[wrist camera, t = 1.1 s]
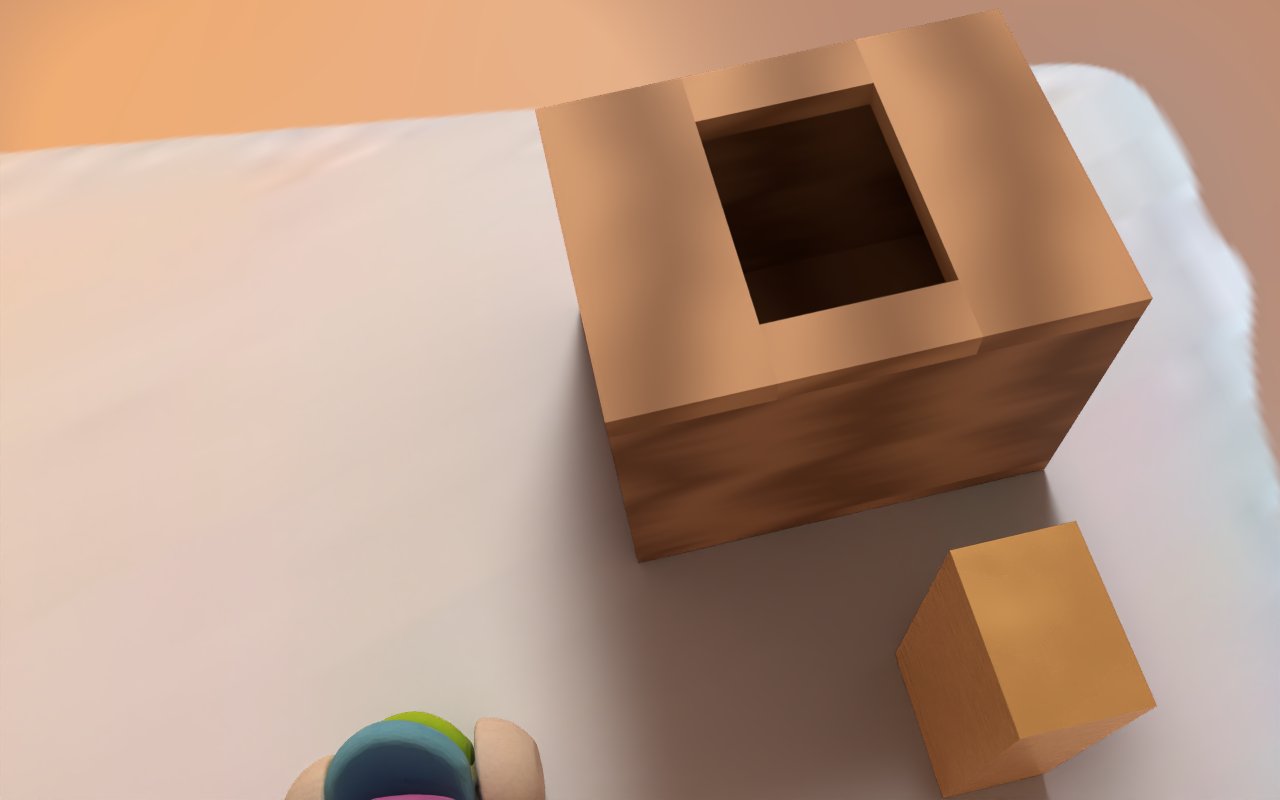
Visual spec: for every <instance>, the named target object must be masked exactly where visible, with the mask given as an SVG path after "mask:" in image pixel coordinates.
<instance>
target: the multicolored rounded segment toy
mask: <svg viewBox="0 0 1280 800" xmlns="http://www.w3.org/2000/svg"><path fill="white" fill-rule="evenodd" d="M474 747H475V751H474V748H473V745H472V743H471V741H470V740H469V739H468V738H467V737H465V736H464V735H463V734H462V733H461V732H460V731H459V730H458V729H457V728H456V727H455V726H453V725H452V724H451V723H449V722H448V721H446V720H444V719H442V718H440V717H437V716H434V715H432V714H428V713H424V712H416V711H414V712H405V713H401V714H397V715H394V716H391V717H388V718H386V719H385V720H383V721H381V722H377V723H374V724H371V725H369V726H367V727H365V728H363V729H362V730H360V731H359V732H357V733H356V734H354V735H353V736H352V737H351V738H350V739H348V740H347V741H346V742H345V743H344V744H343V745H342V747H341V748H340V749H339V750H338V752H337V753H336V755H331V756H327V757H324V758H322V759H320V760H318V761H316V762H315V763H314V764H312V765H311V766H309V767H308V768H307V769H306V770H304V771H303V772H302V773H301V774H300V775H299V777H298V778H297V779H296V780H295V781H294V783H293V784H292V786H291V788H290V790H289V791H288V793H287V795H286V798H285V800H544V799H545V784H544V775H543V769H542V764H541V759H540V755H539V750H538V748H537V745H536V743H535V741H534V740H533V738H532V737H531V736H530V735H529V734H528V733H527V732H526V731H524V730H523V729H522V728H521V727H519V726H518V725H516V724H514V723H511V722H509V721H506V720H503V719H497V718H482V719H479V720H478V721H477V722H476V725H475V730H474Z"/></svg>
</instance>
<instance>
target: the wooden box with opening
mask: <svg viewBox="0 0 1280 800" xmlns="http://www.w3.org/2000/svg"><path fill="white" fill-rule="evenodd" d="M535 112H536V117H537V121H538V126H539V130H540V135H541V139H542V144H543V148H544V153H545V157H546V161H547V166H548V170H549V175H550V179H551V184H552V188H553V193H554V197H555V202H556V206H557V211H558V215H559V220H560V224H561V229H562V233H563V238H564V242H565V246H566V251H567V255H568V260H569V264H570V269H571V273H572V278H573V282H574V287H575V291H576V296H577V300H578V305H579V309H580V314H581V318H582V323H583V327H584V332H585V336H586V340H587V345H588V349H589V354H590V358H591V363H592V367H593V372H594V376H595V381H596V385H597V390H598V394H599V399H600V403H601V408H602V412H603V417H604V421H605V425H606V429H607V434H608V438H609V442H610V446H611V450H612V454H613V459H614V463H615V467H616V471H617V475H618V480H619V484H620V488H621V492H622V496H623V500H624V505H625V509H626V513H627V517H628V521H629V525H630V530H631V534H632V538H633V542H634V546H635V550H636V555H637V559H638V563H640V562H645V561H649V560H653V559H658V558H662V557H666V556H670V555H675V554H679V553H683V552H688V551H692V550H696V549H701V548H705V547H709V546H714V545H718V544H722V543H727V542H731V541H735V540H740V539H744V538H748V537H752V536H757V535H761V534H765V533H770V532H774V531H778V530H783V529H787V528H791V527H796V526H800V525H804V524H809V523H813V522H817V521H822V520H826V519H830V518H834V517H839V516H843V515H847V514H852V513H856V512H860V511H865V510H869V509H873V508H878V507H882V506H886V505H891V504H895V503H899V502H904V501H908V500H912V499H916V498H921V497H925V496H929V495H934V494H938V493H942V492H947V491H951V490H955V489H960V488H964V487H968V486H973V485H977V484H981V483H986V482H990V481H994V480H998V479H1003V478H1007V477H1011V476H1016V475H1020V474H1024V473H1029V472H1033V471H1037V470H1042V469H1045V467H1046V466H1047V464H1048V463H1049V461H1050V460H1051V458H1052V456H1053V455H1054V453H1055V452H1056V450H1057V449H1058V447H1059V445H1060V444H1061V442H1062V441H1063V439H1064V437H1065V436H1066V434H1067V433H1068V431H1069V430H1070V428H1071V426H1072V425H1073V423H1074V422H1075V420H1076V419H1077V417H1078V415H1079V414H1080V412H1081V411H1082V409H1083V407H1084V406H1085V404H1086V403H1087V401H1088V400H1089V398H1090V396H1091V395H1092V393H1093V392H1094V390H1095V389H1096V387H1097V385H1098V384H1099V382H1100V381H1101V379H1102V377H1103V376H1104V374H1105V373H1106V371H1107V370H1108V368H1109V366H1110V365H1111V363H1112V362H1113V360H1114V359H1115V357H1116V355H1117V354H1118V352H1119V351H1120V349H1121V347H1122V346H1123V344H1124V343H1125V341H1126V340H1127V338H1128V336H1129V335H1130V333H1131V332H1132V330H1133V329H1134V327H1135V325H1136V324H1137V322H1138V321H1139V319H1140V317H1141V316H1142V314H1143V313H1144V311H1145V310H1146V308H1147V306H1148V305H1149V303H1150V302H1151V300H1152V299H1153V298H1152V296H1151V294H1150V292H1149V290H1148V289H1147V287H1146V285H1145V283H1144V281H1143V279H1142V277H1141V275H1140V274H1139V272H1138V270H1137V268H1136V266H1135V264H1134V262H1133V260H1132V258H1131V257H1130V255H1129V253H1128V251H1127V249H1126V247H1125V245H1124V243H1123V242H1122V240H1121V238H1120V236H1119V234H1118V232H1117V230H1116V228H1115V227H1114V225H1113V223H1112V221H1111V219H1110V217H1109V215H1108V213H1107V211H1106V210H1105V208H1104V206H1103V204H1102V202H1101V200H1100V198H1099V196H1098V195H1097V193H1096V191H1095V189H1094V187H1093V185H1092V183H1091V181H1090V179H1089V178H1088V176H1087V174H1086V172H1085V170H1084V168H1083V166H1082V164H1081V163H1080V161H1079V159H1078V157H1077V155H1076V153H1075V151H1074V149H1073V148H1072V146H1071V144H1070V142H1069V140H1068V138H1067V136H1066V134H1065V132H1064V131H1063V129H1062V127H1061V125H1060V123H1059V121H1058V119H1057V117H1056V116H1055V114H1054V112H1053V110H1052V108H1051V106H1050V104H1049V102H1048V101H1047V99H1046V97H1045V95H1044V93H1043V91H1042V89H1041V87H1040V85H1039V84H1038V82H1037V80H1036V78H1035V76H1034V74H1033V72H1032V70H1031V69H1030V67H1029V65H1028V63H1027V61H1026V59H1025V57H1024V55H1023V54H1022V52H1021V50H1020V48H1019V46H1018V44H1017V42H1016V40H1015V39H1014V37H1013V35H1012V33H1011V31H1010V29H1009V27H1008V26H1007V23H1006V22H1005V20H1004V18H1003V16H1002V14H1001V12H1000V10H999V9H995V10H990V11H985V12H980V13H976V14H971V15H967V16H962V17H958V18H953V19H948V20H944V21H940V22H935V23H930V24H925V25H921V26H916V27H912V28H907V29H902V30H898V31H893V32H889V33H884V34H879V35H875V36H871V37H866V38H861V39H856V40H852V41H848V42H843V43H838V44H834V45H829V46H824V47H820V48H815V49H811V50H806V51H802V52H797V53H793V54H788V55H783V56H778V57H774V58H769V59H765V60H760V61H756V62H751V63H746V64H742V65H737V66H733V67H729V68H723V69H719V70H714V71H710V72H705V73H701V74H696V75H691V76H687V77H682V78H677V79H673V80H668V81H664V82H659V83H655V84H650V85H645V86H641V87H636V88H632V89H627V90H622V91H618V92H613V93H609V94H604V95H600V96H595V97H590V98H586V99H581V100H577V101H572V102H567V103H563V104H558V105H553V106H549V107H544V108H540V109H535Z"/></svg>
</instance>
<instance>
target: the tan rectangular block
mask: <svg viewBox="0 0 1280 800" xmlns="http://www.w3.org/2000/svg"><path fill="white" fill-rule="evenodd" d="M895 655H896V658H897V661H898V664H899V667H900V670H901V673H902V676H903V679H904V682H905V685H906V688H907V691H908V694H909V697H910V700H911V703H912V706H913V709H914V712H915V715H916V718H917V721H918V724H919V727H920V730H921V733H922V736H923V739H924V743H925V746H926V749H927V752H928V755H929V758H930V761H931V764H932V767H933V770H934V773H935V776H936V779H937V782H938V785H939V788H940V791H941V794H942V797H943V798H946V797H950V796H954V795H958V794H962V793H967V792H971V791H975V790H979V789H983V788H987V787H992V786H996V785H1000V784H1004V783H1008V782H1012V781H1016V780H1021V779H1025V778H1029V777H1033V776H1037V775H1041V774H1044V773H1046V772H1047V771H1049V770H1051V769H1053V768H1054V767H1056V766H1058V765H1059V764H1061V763H1063V762H1064V761H1066V760H1068V759H1069V758H1071V757H1073V756H1074V755H1076V754H1078V753H1079V752H1081V751H1083V750H1084V749H1086V748H1088V747H1089V746H1091V745H1093V744H1094V743H1096V742H1098V741H1099V740H1101V739H1103V738H1104V737H1106V736H1108V735H1109V734H1111V733H1113V732H1114V731H1116V730H1118V729H1119V728H1121V727H1123V726H1124V725H1126V724H1128V723H1129V722H1131V721H1133V720H1134V719H1136V718H1138V717H1139V716H1141V715H1143V714H1144V713H1146V712H1148V711H1149V710H1151V709H1153V708H1154V707H1156V706H1157V705H1156V703H1155V700H1154V698H1153V696H1152V693H1151V691H1150V689H1149V687H1148V684H1147V682H1146V680H1145V677H1144V675H1143V673H1142V671H1141V668H1140V666H1139V664H1138V661H1137V659H1136V657H1135V655H1134V652H1133V650H1132V648H1131V646H1130V643H1129V641H1128V639H1127V636H1126V634H1125V632H1124V630H1123V627H1122V625H1121V623H1120V620H1119V618H1118V616H1117V614H1116V611H1115V609H1114V607H1113V604H1112V602H1111V600H1110V598H1109V595H1108V593H1107V591H1106V588H1105V586H1104V584H1103V582H1102V579H1101V577H1100V575H1099V572H1098V570H1097V568H1096V566H1095V563H1094V561H1093V559H1092V556H1091V554H1090V552H1089V550H1088V547H1087V545H1086V543H1085V541H1084V538H1083V536H1082V534H1081V531H1080V529H1079V527H1078V525H1077V522H1076V521H1074V522H1070V523H1065V524H1061V525H1057V526H1052V527H1048V528H1044V529H1040V530H1035V531H1031V532H1027V533H1023V534H1018V535H1014V536H1010V537H1005V538H1001V539H997V540H993V541H988V542H984V543H980V544H975V545H971V546H967V547H963V548H958V549H954V550H950V551H949V553H948V555H947V557H946V559H945V561H944V563H943V565H942V566H941V568H940V570H939V572H938V574H937V576H936V578H935V580H934V582H933V583H932V585H931V587H930V589H929V591H928V593H927V595H926V597H925V599H924V600H923V602H922V604H921V606H920V608H919V610H918V612H917V614H916V616H915V618H914V619H913V621H912V623H911V625H910V627H909V629H908V631H907V633H906V635H905V636H904V638H903V640H902V642H901V644H900V646H899V648H898V650H897V652H896V653H895Z"/></svg>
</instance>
